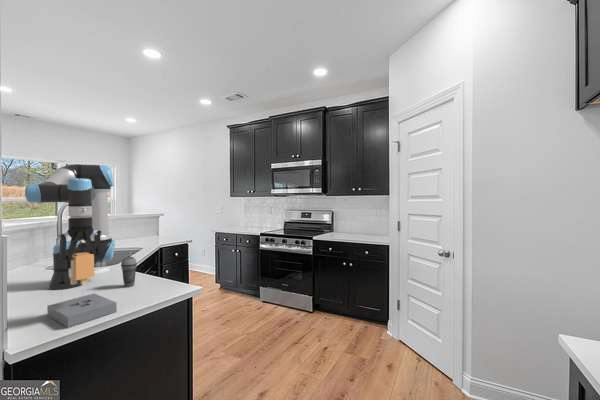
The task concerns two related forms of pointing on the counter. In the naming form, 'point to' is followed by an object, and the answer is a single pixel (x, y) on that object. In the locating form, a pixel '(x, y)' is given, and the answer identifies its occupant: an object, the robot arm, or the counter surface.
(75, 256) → the plug
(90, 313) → the socket
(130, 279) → the beverage cup
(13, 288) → the counter surface
